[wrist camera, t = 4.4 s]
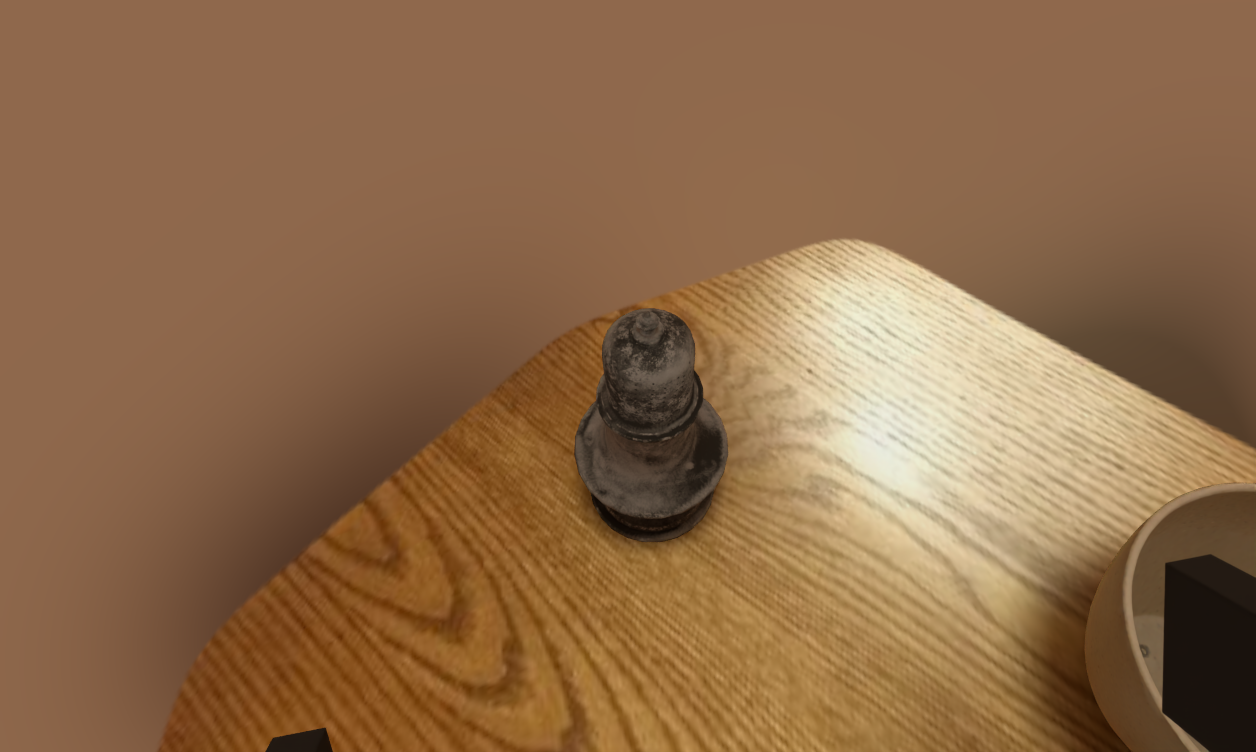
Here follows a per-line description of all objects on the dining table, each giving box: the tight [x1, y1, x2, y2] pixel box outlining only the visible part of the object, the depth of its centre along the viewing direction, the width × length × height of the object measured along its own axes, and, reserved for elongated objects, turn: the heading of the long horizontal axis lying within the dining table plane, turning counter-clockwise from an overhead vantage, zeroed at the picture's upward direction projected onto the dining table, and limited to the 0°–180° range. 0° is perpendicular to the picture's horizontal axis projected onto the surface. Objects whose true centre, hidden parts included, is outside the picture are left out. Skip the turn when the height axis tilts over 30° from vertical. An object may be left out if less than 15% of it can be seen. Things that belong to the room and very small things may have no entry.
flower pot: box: [1085, 483, 1256, 752], centre depth 23 cm, size 10×10×7 cm
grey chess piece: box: [574, 308, 728, 542], centre depth 26 cm, size 6×6×12 cm
